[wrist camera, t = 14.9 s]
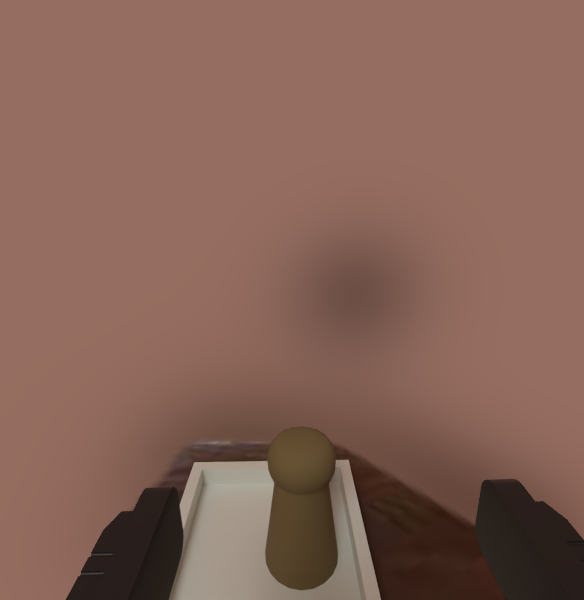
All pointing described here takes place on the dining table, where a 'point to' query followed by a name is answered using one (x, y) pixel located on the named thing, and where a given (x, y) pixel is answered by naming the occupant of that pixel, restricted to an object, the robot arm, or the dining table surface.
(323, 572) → the cork
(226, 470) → the serving tray
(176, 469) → the dining table surface
